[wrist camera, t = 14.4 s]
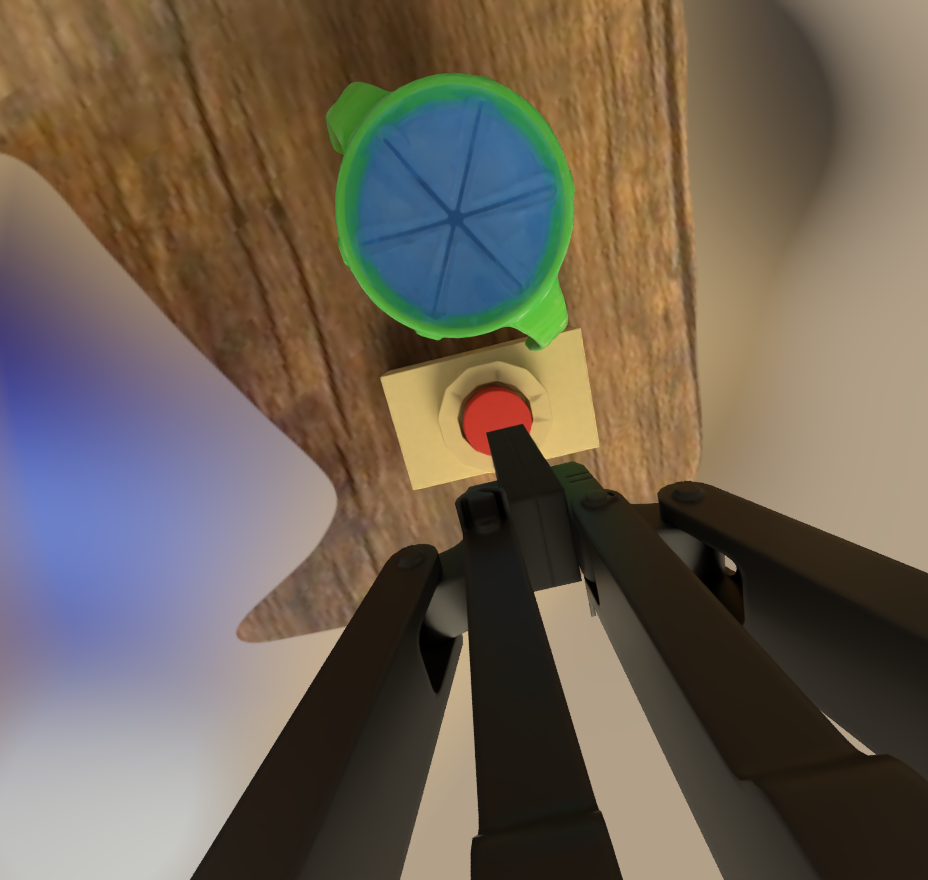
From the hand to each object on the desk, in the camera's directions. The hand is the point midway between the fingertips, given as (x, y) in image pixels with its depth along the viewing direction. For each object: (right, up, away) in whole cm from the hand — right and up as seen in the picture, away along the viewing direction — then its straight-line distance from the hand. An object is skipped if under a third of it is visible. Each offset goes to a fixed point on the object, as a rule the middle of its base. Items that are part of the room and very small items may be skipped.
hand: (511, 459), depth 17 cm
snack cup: (-3, +13, +11) cm, 18 cm away
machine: (0, +3, +14) cm, 15 cm away
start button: (0, +2, +10) cm, 10 cm away
